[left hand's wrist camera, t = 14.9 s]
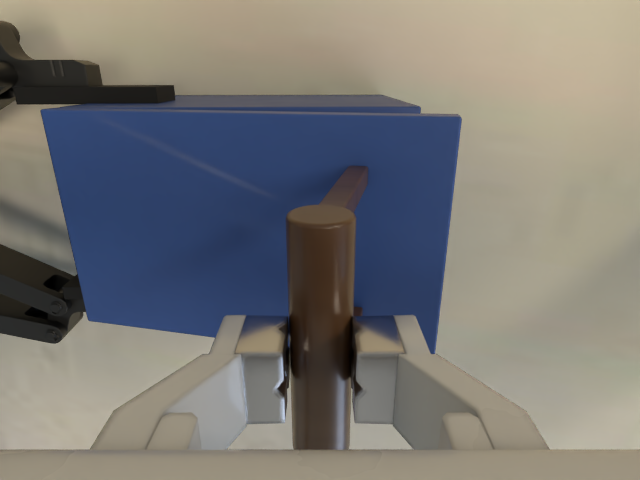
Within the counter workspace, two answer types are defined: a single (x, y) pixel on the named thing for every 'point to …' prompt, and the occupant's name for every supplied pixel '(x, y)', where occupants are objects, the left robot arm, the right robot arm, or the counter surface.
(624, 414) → the counter surface
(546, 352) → the counter surface
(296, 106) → the chest
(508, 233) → the counter surface
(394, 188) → the lid
